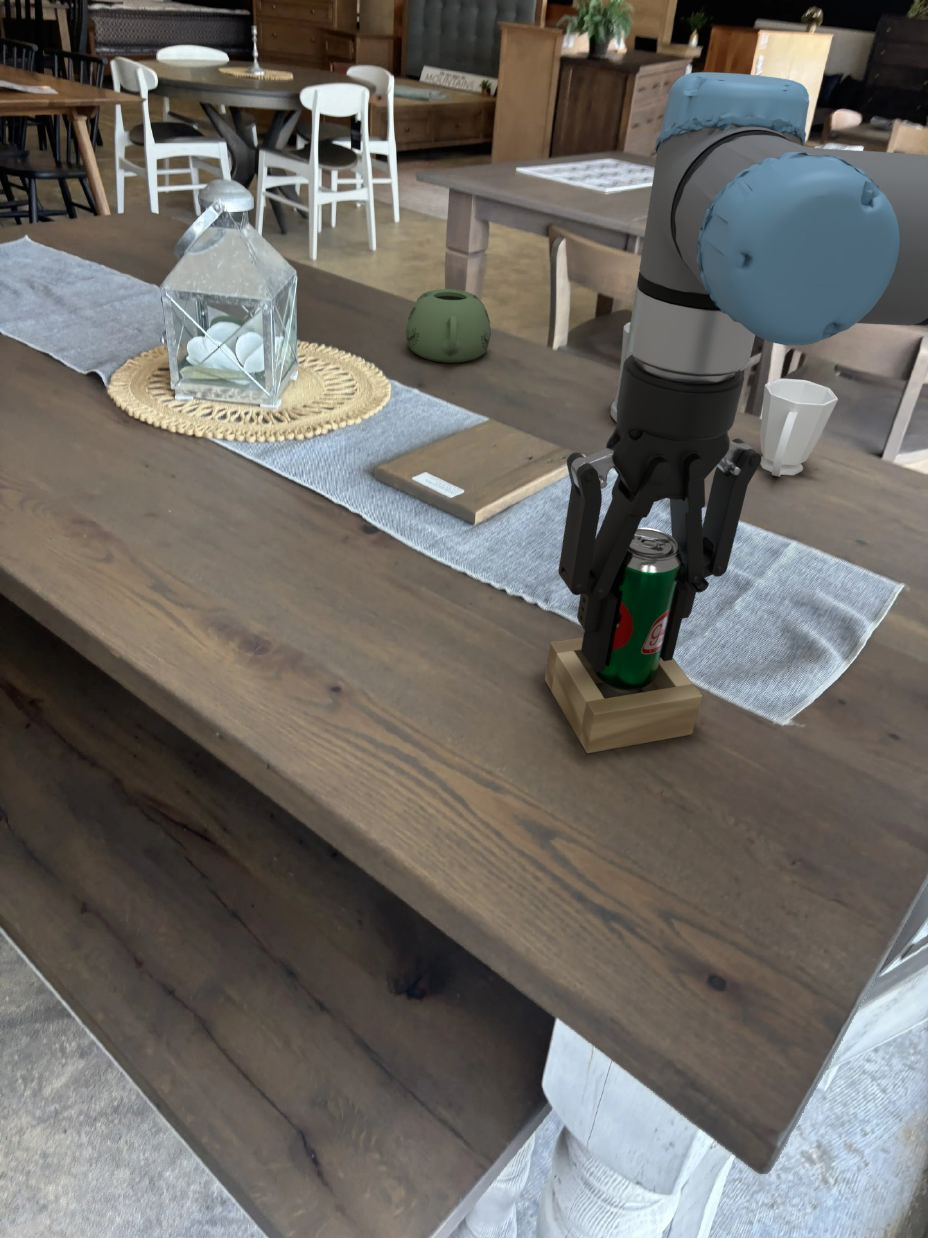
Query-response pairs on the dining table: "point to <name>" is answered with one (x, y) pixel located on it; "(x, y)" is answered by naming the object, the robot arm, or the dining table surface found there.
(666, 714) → the holder
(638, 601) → the soda can
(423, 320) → the mug
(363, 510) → the dining table surface
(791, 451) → the cup
